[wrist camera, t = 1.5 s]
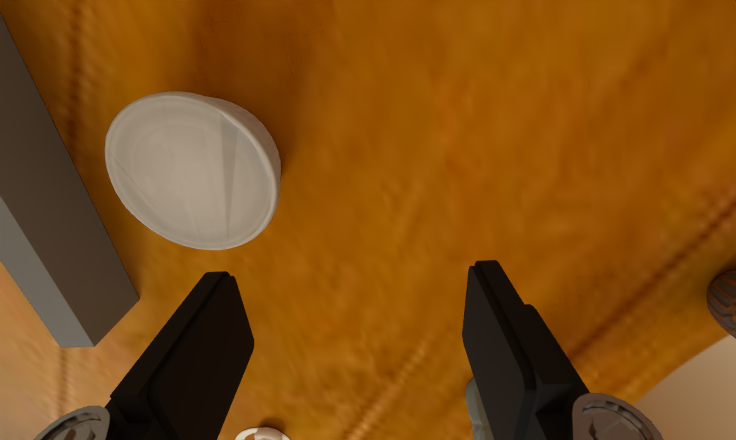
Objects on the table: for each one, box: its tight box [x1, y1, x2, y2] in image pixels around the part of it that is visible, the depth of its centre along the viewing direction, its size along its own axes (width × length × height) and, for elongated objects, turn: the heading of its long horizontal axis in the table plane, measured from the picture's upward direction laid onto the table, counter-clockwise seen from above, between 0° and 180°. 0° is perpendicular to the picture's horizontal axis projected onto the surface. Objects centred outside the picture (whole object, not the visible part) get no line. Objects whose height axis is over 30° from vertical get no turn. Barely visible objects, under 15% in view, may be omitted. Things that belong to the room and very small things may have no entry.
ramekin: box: [105, 91, 281, 250], centre depth 24 cm, size 11×11×5 cm
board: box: [0, 14, 140, 348], centre depth 24 cm, size 28×3×6 cm, turn 3°
